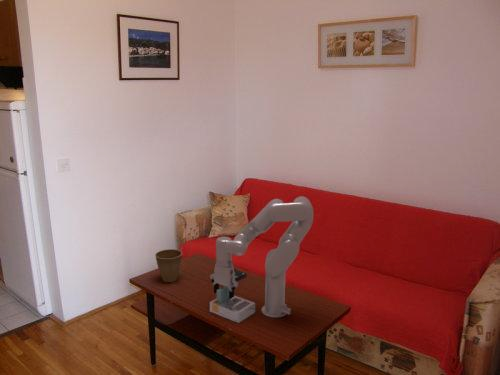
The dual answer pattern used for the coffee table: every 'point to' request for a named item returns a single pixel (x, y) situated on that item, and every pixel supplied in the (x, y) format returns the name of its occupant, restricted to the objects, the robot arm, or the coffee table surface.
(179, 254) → the plant pot
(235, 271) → the disk drive
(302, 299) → the coffee table surface
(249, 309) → the frame
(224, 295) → the panel
